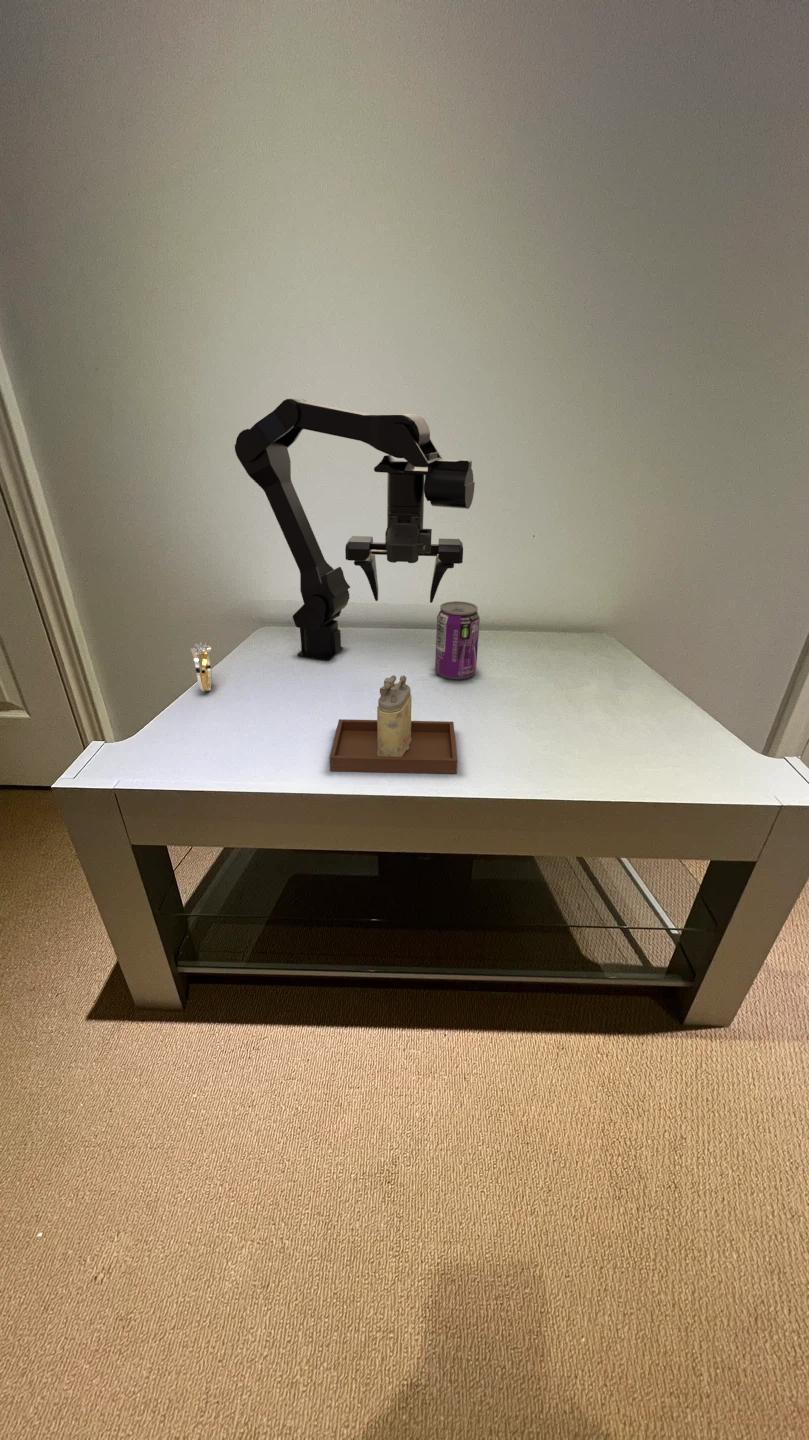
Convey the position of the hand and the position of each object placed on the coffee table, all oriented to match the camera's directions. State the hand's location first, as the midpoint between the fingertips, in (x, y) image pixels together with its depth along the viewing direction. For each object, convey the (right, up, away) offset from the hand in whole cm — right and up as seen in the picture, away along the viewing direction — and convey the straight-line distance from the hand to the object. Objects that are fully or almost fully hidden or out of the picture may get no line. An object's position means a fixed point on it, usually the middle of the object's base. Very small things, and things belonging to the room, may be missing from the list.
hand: (403, 601), depth 100 cm
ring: (-32, -15, -4) cm, 36 cm away
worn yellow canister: (-1, -24, -20) cm, 31 cm away
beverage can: (+9, -12, +3) cm, 15 cm away
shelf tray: (-1, -24, -20) cm, 32 cm away
